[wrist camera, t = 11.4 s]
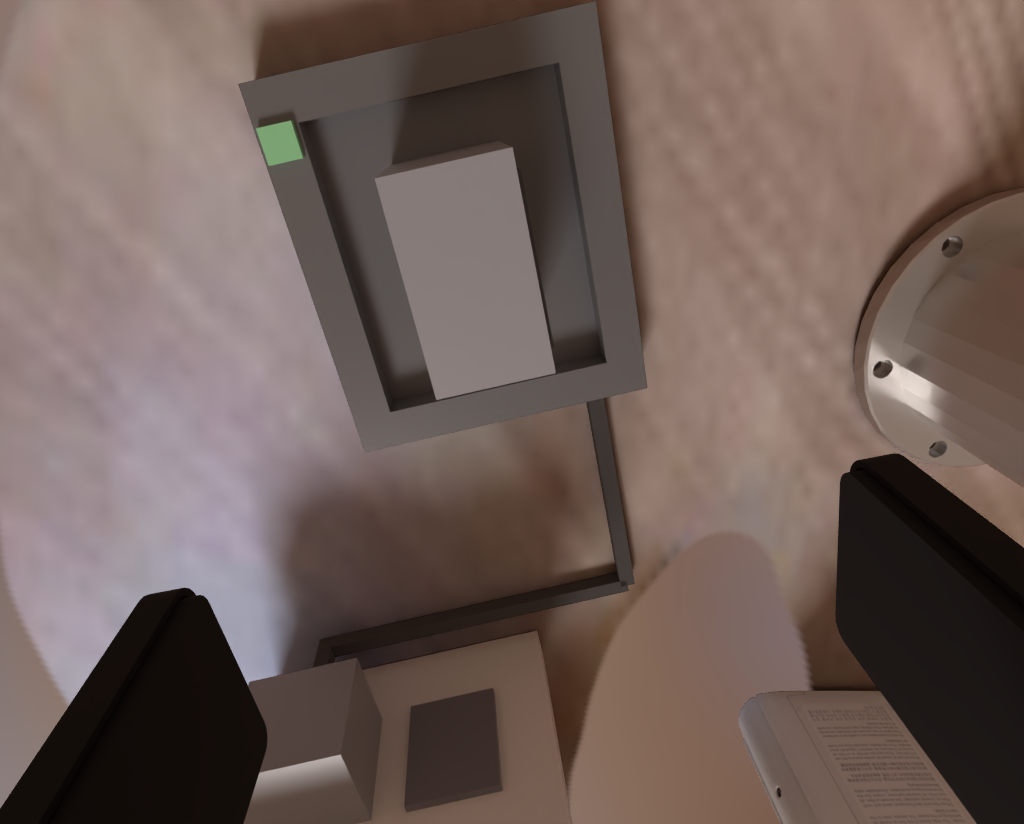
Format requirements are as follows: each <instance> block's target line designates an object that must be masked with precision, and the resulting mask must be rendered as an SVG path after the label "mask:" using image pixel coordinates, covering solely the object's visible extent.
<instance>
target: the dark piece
mask: <svg viewBox="0 0 1024 824" xmlns="http://www.w3.org/2000/svg"><path fill="white" fill-rule="evenodd" d="M587 408H588V413H589V419H590V425H591V430H592V436H593V441H594V447H595V453H596V458H597V464H598V470H599V475H600V481H601V487H602V492H603V498H604V504H605V509H606V515H607V520H608V526H609V532H610V537H611V543H612V549H613V554H614V560H615V566H616V571H617V573H613V574H609V575H604V576H600V577H595V578H591V579H587V580H582V581H578V582H573V583H569V584H564V585H560V586H556V587H551V588H547V589H542V590H538V591H534V592H529V593H525V594H520V595H516V596H511V597H507V598H503V599H498V600H494V601H489V602H485V603H480V604H476V605H472V606H467V607H463V608H458V609H454V610H450V611H445V612H441V613H436V614H432V615H427V616H423V617H419V618H414V619H410V620H405V621H401V622H396V623H392V624H388V625H383V626H379V627H374V628H370V629H366V630H361V631H357V632H352V633H348V634H343V635H339V636H335V637H330V638H326V639H321V640H320V642H319V646H318V650H317V654H316V658H315V662H314V666H313V668H314V667H318V666H323V665H327V664H331V663H334V662H335V657H338V656H342V655H347V654H351V653H356V652H360V651H365V650H369V649H373V648H378V647H382V646H387V645H391V644H395V643H400V642H404V641H409V640H413V639H418V638H422V637H426V636H431V635H435V634H440V633H444V632H449V631H453V630H457V629H462V628H466V627H471V626H475V625H480V624H484V623H488V622H493V621H497V620H502V619H506V618H511V617H515V616H519V615H524V614H528V613H533V612H537V611H542V610H546V609H550V608H555V607H559V606H564V605H568V604H572V603H577V602H581V601H586V600H590V599H595V598H599V597H603V596H608V595H612V594H617V593H621V592H626V591H629V590H628V585H632V584H635V583H634V577H633V571H632V565H631V559H630V553H629V547H628V541H627V535H626V529H625V522H624V516H623V510H622V504H621V498H620V492H619V486H618V480H617V474H616V468H615V462H614V456H613V450H612V443H611V437H610V431H609V425H608V419H607V413H606V407H605V401H604V398H602V399H597V400H593V401H589V402H587Z"/></svg>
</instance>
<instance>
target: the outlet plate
mask: <svg viewBox="0 0 1024 824" xmlns="http://www.w3.org/2000/svg"><path fill="white" fill-rule="evenodd" d="M248 687H249V689H250V692H251V694H252V696H253V698H254V700H255V702H256V704H257V707H258V709H259V711H260V713H261V715H262V717H263V720H264V722H265V725H266V728H267V738H268V740H267V749H266V753H265V756H264V759H263V762H262V766H261V769H260V772H259V775H258V779H257V782H256V785H255V788H254V792H253V795H252V798H251V801H250V805H249V808H248V811H247V814H246V817H245V821H244V824H572V818H571V812H570V806H569V801H568V795H567V789H566V784H565V778H564V772H563V766H562V761H561V755H560V749H559V743H558V738H557V732H556V726H555V721H554V715H553V709H552V703H551V698H550V692H549V686H548V680H547V675H546V669H545V663H544V658H543V652H542V648H541V644H540V640H539V636H538V632H537V631H532V632H528V633H524V634H519V635H515V636H510V637H506V638H501V639H497V640H493V641H488V642H484V643H479V644H475V645H470V646H466V647H462V648H457V649H453V650H448V651H444V652H439V653H435V654H431V655H426V656H422V657H417V658H413V659H408V660H404V661H400V662H395V663H391V664H386V665H382V666H377V667H373V668H369V669H364V670H362V668H361V666H360V663H359V661H358V659H357V658H354V659H349V660H345V661H340V662H336V663H331V664H327V665H323V666H318V667H314V668H309V669H305V670H300V671H296V672H292V673H287V674H283V675H278V676H274V677H269V678H265V679H261V680H256V681H252V682H249V685H248Z"/></svg>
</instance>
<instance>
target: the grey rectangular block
mask: <svg viewBox="0 0 1024 824" xmlns="http://www.w3.org/2000/svg"><path fill="white" fill-rule="evenodd" d="M375 182H376V185H377V189H378V193H379V196H380V200H381V203H382V207H383V211H384V214H385V218H386V221H387V225H388V229H389V232H390V236H391V239H392V243H393V246H394V250H395V254H396V257H397V261H398V264H399V268H400V272H401V275H402V279H403V282H404V286H405V290H406V293H407V297H408V300H409V304H410V308H411V311H412V315H413V318H414V322H415V325H416V329H417V333H418V336H419V340H420V343H421V347H422V351H423V354H424V358H425V361H426V365H427V369H428V372H429V376H430V379H431V383H432V386H433V390H434V394H435V397H436V400H439V399H443V398H448V397H452V396H457V395H461V394H465V393H470V392H474V391H479V390H483V389H488V388H492V387H497V386H501V385H505V384H510V383H514V382H519V381H523V380H528V379H532V378H536V377H541V376H545V375H550V374H554V373H556V371H555V366H554V361H553V356H552V350H551V348H554V343H553V338H552V332H551V327H550V322H549V316H548V311H547V306H546V301H545V295H544V290H543V285H542V279H541V274H540V269H539V264H538V258H537V253H536V248H535V242H534V237H533V232H532V227H531V221H530V216H529V211H528V205H527V200H526V195H525V190H524V184H523V179H522V174H521V170H520V169H518V168H517V167H516V162H515V157H514V152H513V147H511V146H509V145H507V144H505V143H503V142H501V141H494V142H489V143H485V144H480V145H476V146H472V147H467V148H463V149H458V150H454V151H450V152H445V153H441V154H436V155H432V156H428V157H423V158H419V159H414V160H410V161H406V162H401V163H397V164H392V165H390V166H389V167H388V168H387V169H386V170H384V171H383V172H382V173H381V174H379V175H378V176H377V177H376V178H375Z"/></svg>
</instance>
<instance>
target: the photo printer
mask: <svg viewBox="0 0 1024 824" xmlns="http://www.w3.org/2000/svg"><path fill="white" fill-rule="evenodd" d="M739 726H740V729H741V731H742V733H743V735H744V737H743V740H744V743H745V746H746V748H747V751H748V753H749V755H750V758H751V760H752V762H753V764H754V767H755V769H756V771H757V774H758V776H759V778H760V780H761V782H762V784H763V787H764V789H765V791H766V793H767V795H768V797H769V800H770V802H771V804H772V806H773V808H774V810H775V813H776V815H777V817H778V819H779V821H780V824H977V823H976V822H975V821H974V819H973V818H972V817H971V815H970V814H969V812H968V811H967V810H966V808H965V807H964V806H963V804H962V803H961V801H960V800H959V799H958V797H957V796H956V795H955V793H954V792H953V791H952V789H951V788H950V786H949V785H948V784H947V782H946V781H945V780H944V778H943V777H942V775H941V774H940V773H939V771H938V770H937V769H936V767H935V766H934V765H933V763H932V762H931V760H930V759H929V758H928V756H927V755H926V754H925V752H924V751H923V749H922V748H921V747H920V745H919V744H918V743H917V741H916V740H915V739H914V737H913V736H912V734H911V733H910V732H909V730H908V729H907V728H906V726H905V725H904V723H903V722H902V721H901V719H900V718H899V717H898V715H897V714H896V713H895V711H894V710H893V708H892V707H891V706H890V704H889V703H888V702H887V700H886V699H885V697H884V696H883V695H882V693H881V692H880V691H779V692H768V693H761V694H758V695H757V696H756V697H752V698H750V699H749V700H748V701H747V702H746V703H745V705H744V706H743V708H742V710H741V712H740V714H739Z"/></svg>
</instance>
